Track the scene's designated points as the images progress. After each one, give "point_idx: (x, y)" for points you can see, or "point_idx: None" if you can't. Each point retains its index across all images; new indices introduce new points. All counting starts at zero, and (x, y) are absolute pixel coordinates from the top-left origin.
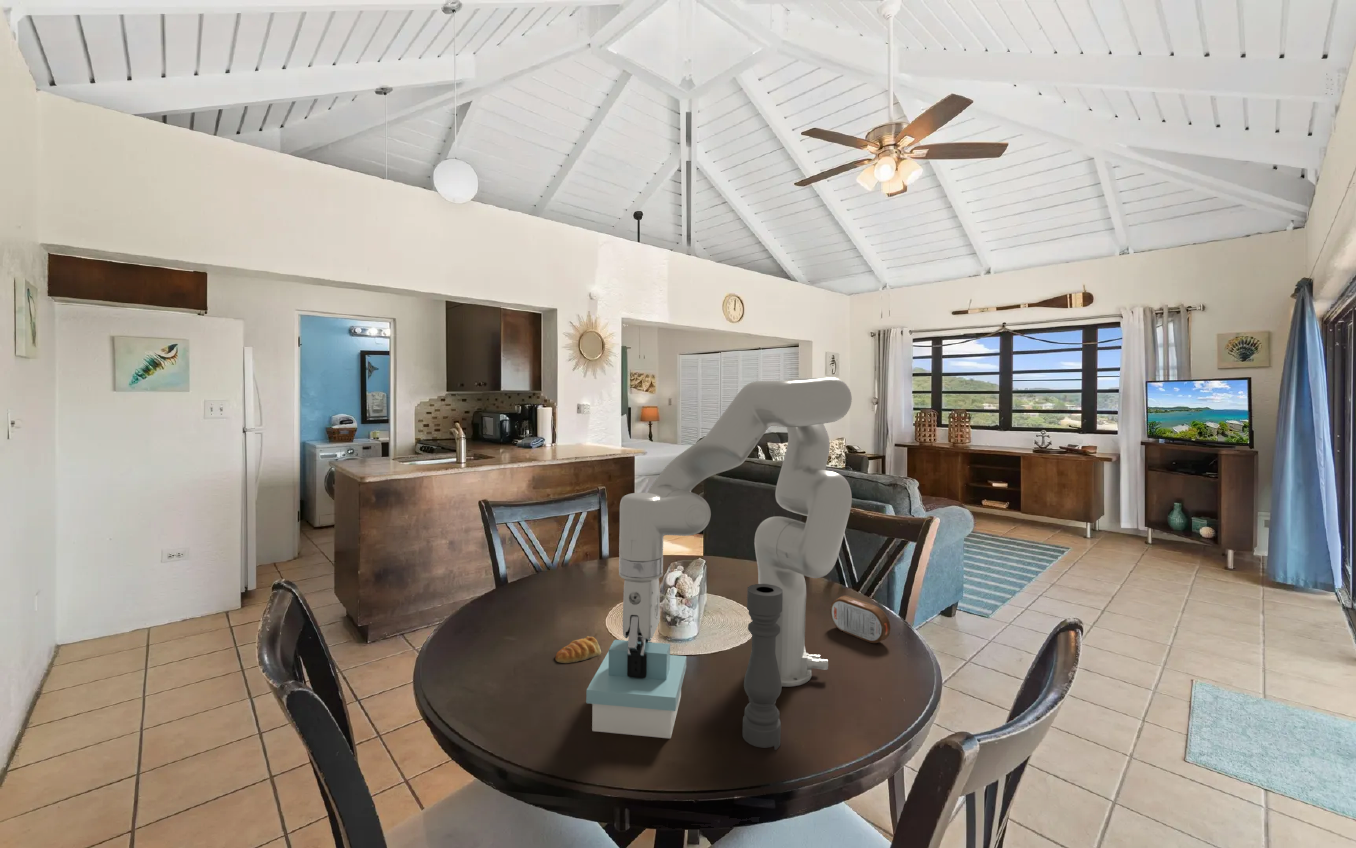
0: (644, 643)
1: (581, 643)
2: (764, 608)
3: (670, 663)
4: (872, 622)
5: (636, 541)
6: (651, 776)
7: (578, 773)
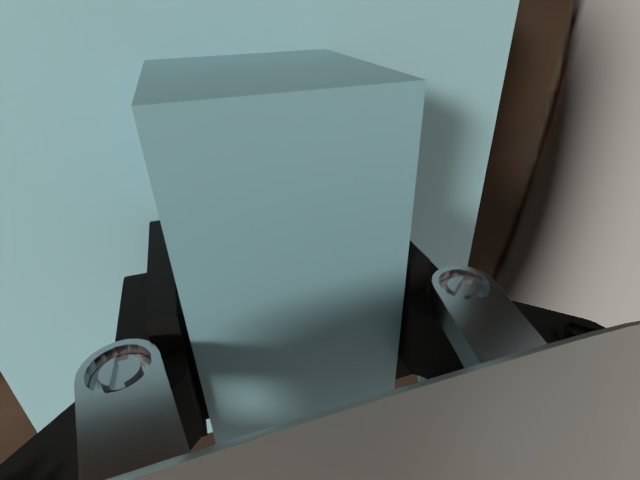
0: (519, 341)
1: None
2: None
3: (37, 77)
4: None
5: None
6: (524, 18)
7: (497, 215)
